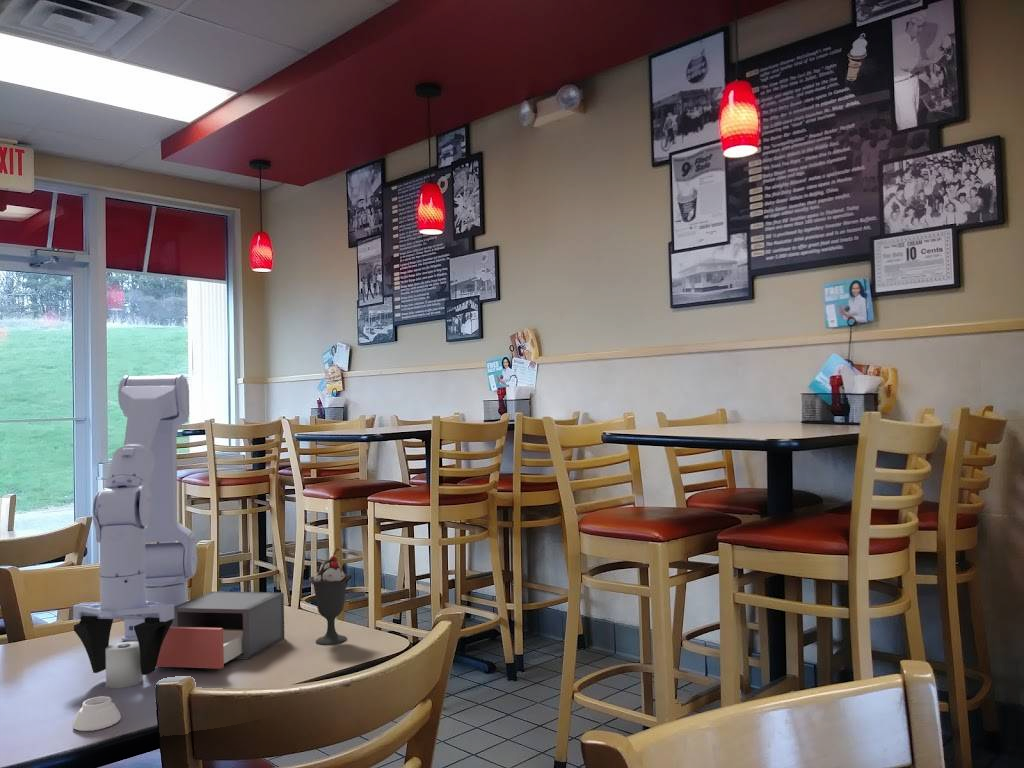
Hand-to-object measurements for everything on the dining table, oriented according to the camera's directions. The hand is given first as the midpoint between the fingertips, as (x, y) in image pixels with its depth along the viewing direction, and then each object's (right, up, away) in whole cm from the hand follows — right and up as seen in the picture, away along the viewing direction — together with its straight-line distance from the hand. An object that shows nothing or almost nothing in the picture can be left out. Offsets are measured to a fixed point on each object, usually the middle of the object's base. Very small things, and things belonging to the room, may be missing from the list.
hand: (124, 671), depth 111 cm
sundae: (+25, -2, +17) cm, 30 cm away
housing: (+9, -2, +15) cm, 18 cm away
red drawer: (+8, -1, +8) cm, 12 cm away
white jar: (+4, -1, -15) cm, 16 cm away
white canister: (0, -2, 0) cm, 2 cm away
